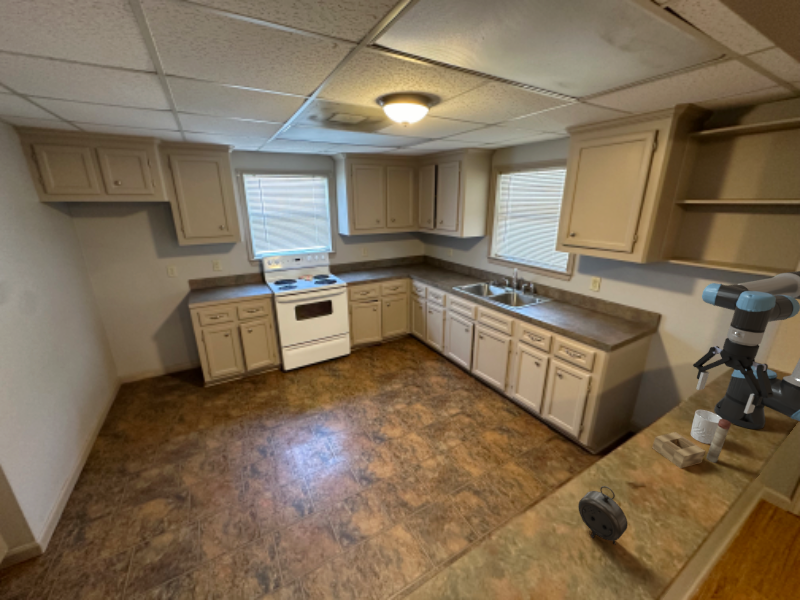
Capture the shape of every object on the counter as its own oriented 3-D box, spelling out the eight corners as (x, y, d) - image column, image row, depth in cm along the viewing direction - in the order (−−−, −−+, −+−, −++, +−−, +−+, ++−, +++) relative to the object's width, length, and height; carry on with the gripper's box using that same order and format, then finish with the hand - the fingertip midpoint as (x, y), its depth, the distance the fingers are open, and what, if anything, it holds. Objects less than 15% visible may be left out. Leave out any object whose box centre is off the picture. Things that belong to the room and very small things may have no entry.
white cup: (720, 446, 124) (728, 424, 121) (696, 443, 126) (704, 421, 123) (706, 432, 131) (714, 411, 128) (683, 429, 133) (690, 408, 130)
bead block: (672, 442, 126) (675, 431, 124) (701, 462, 117) (705, 450, 115) (652, 447, 123) (655, 436, 122) (680, 468, 114) (684, 456, 112)
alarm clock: (622, 544, 89) (636, 497, 84) (613, 556, 86) (626, 508, 81) (581, 513, 97) (592, 469, 92) (571, 523, 94) (581, 478, 89)
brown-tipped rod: (709, 455, 120) (723, 418, 115) (719, 461, 117) (733, 423, 112) (704, 457, 119) (717, 419, 114) (713, 463, 116) (727, 425, 111)
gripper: (690, 327, 113) (675, 382, 120) (788, 361, 91) (763, 426, 97) (706, 325, 115) (690, 378, 122) (806, 357, 92) (780, 421, 99)
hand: (722, 400), depth 109 cm, fingers open, 13 cm apart
